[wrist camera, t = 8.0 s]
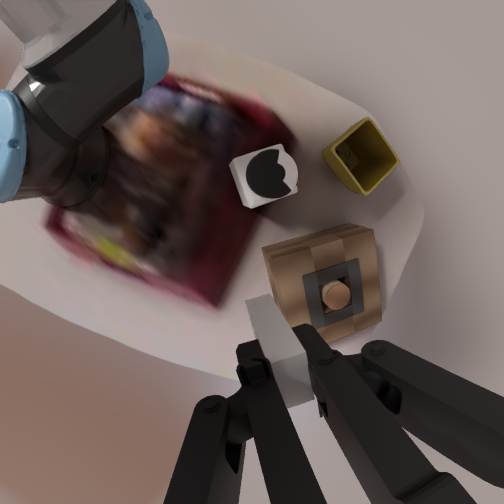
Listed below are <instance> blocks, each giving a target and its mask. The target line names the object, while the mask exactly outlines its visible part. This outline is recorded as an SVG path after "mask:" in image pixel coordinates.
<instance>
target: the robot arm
mask: <svg viewBox="0 0 504 504" xmlns="http://www.w3.org/2000/svg"><path fill="white" fill-rule="evenodd" d="M0 19H1V20H2V21H3V22H4V23H5V24H6V26H7V27H8V28H9V29H10V30H11V31H12V32H13V33H14V34H15V35H16V36H17V37H18V38H19V39H20V41H21V42H22V43H23V46H24V49H23V57H22V63H21V64H22V66H23V67H24V69H26V70H27V71H28V72H29V73H28V74H27V75H26V76H25V77H24V78H23V80H22V81H21V82H20V83H19V84H18V85H17V86H16V87H15V88H14V89H13V90H12V91H9V90H0V203H5V202H7V201H13V200H21V199H29V198H38V197H41V198H42V199H44V200H45V201H46V202H48V203H50V204H52V205H56V206H72V205H76V204H79V203H82V202H84V201H85V200H87V199H88V198H90V197H91V196H92V195H93V194H94V193H95V192H96V191H97V190H98V188H99V187H100V185H101V184H102V182H103V180H104V178H105V176H106V174H107V171H108V167H109V162H110V146H109V141H108V138H107V136H106V133H105V132H104V130H103V129H102V127H101V126H102V125H103V124H105V123H106V122H107V121H108V120H109V119H110V118H112V117H113V116H114V115H115V114H117V113H118V112H119V111H120V110H122V109H123V108H124V107H125V106H127V105H128V104H129V103H131V102H132V101H133V100H135V99H136V98H137V99H139V98H141V97H142V96H143V95H144V94H145V92H146V91H147V90H149V89H150V88H151V87H153V86H154V85H155V84H157V83H158V82H159V81H161V80H162V79H163V78H164V77H165V75H166V73H167V71H168V69H169V53H168V48H167V45H166V41H165V38H164V36H163V33H162V30H161V28H160V26H159V24H158V21H157V20H156V19H155V18H154V17H153V14H152V12H151V9H150V8H149V7H148V5H147V3H145V1H144V0H0ZM245 303H246V306H247V310H248V313H249V317H250V320H251V324H252V327H253V331H254V334H255V338H256V340H253V341H249V342H246V343H242V344H239V345H238V347H237V349H236V354H237V359H238V364H239V365H238V366H237V369H236V372H237V374H238V377H239V380H240V383H241V385H242V386H241V388H240V389H239V391H237V392H236V393H235V394H234V395H232V396H230V397H229V398H225V397H223V396H220V395H211V396H207V397H205V398H203V399H201V400H200V401H199V402H198V403H197V404H196V406H195V408H194V412H193V415H192V418H191V420H190V423H189V426H188V429H187V433H186V436H185V439H184V442H183V445H182V448H181V451H180V454H179V457H178V460H177V463H176V466H175V469H174V472H173V475H172V478H171V481H170V484H169V488H168V491H167V494H166V497H165V500H164V503H163V504H238V503H239V495H240V487H241V480H242V472H243V464H244V456H245V447H246V441H247V440H249V439H251V438H252V437H254V441H255V444H256V449H257V453H258V457H259V461H260V465H261V469H262V473H263V476H264V480H265V484H266V488H267V491H268V495H269V498H270V503H271V504H327V502H326V500H325V498H324V495H323V493H322V491H321V489H320V486H319V484H318V482H317V479H316V477H315V475H314V472H313V470H312V468H311V465H310V463H309V461H308V458H307V456H306V454H305V451H304V449H303V446H302V444H301V441H300V439H299V437H298V434H297V432H296V429H295V427H294V425H293V422H292V420H291V417H290V415H289V412H288V410H287V408H290V407H293V406H296V405H299V404H302V403H305V402H308V401H310V400H314V399H315V398H314V394H315V396H316V397H317V401H318V407H319V414H320V417H323V416H324V418H325V420H326V422H327V423H328V425H329V427H330V429H331V431H332V432H333V434H334V436H335V438H336V440H337V442H338V443H339V446H340V447H341V449H342V451H343V453H344V455H345V457H346V458H347V460H348V462H349V464H350V466H351V468H352V469H353V471H354V473H355V475H356V477H357V479H358V480H359V482H360V484H361V486H362V488H363V489H364V491H365V493H366V495H367V497H368V498H369V500H370V502H371V504H477V503H476V502H475V501H474V499H473V498H472V497H471V496H470V495H469V494H468V492H467V491H466V490H465V489H464V488H463V486H462V485H461V484H460V483H459V481H458V480H457V479H456V478H455V477H454V476H453V475H452V474H450V473H448V472H439V471H437V470H436V469H435V468H434V467H433V465H432V464H431V463H430V462H429V461H428V459H427V458H426V457H425V456H424V454H423V453H422V452H421V451H420V450H419V448H418V447H417V446H416V445H415V443H414V442H413V441H412V440H411V438H410V437H409V436H408V435H407V433H406V432H405V431H404V430H403V428H404V429H406V430H407V431H408V432H410V433H411V434H413V435H414V436H416V437H417V438H419V439H420V440H421V441H423V442H425V443H426V444H427V445H429V446H430V447H432V448H433V449H435V450H436V451H438V452H439V453H441V454H442V455H444V456H446V457H447V458H449V459H450V460H452V461H453V462H455V463H457V464H458V465H460V466H461V467H463V468H464V469H466V470H468V471H469V472H471V473H473V474H474V475H476V476H477V477H479V478H481V479H482V480H484V481H486V482H488V483H490V484H492V485H494V486H497V487H500V488H504V397H502V396H500V395H498V394H496V393H494V392H491V391H489V390H487V389H485V388H483V387H480V386H478V385H476V384H474V383H472V382H470V381H468V380H466V379H464V378H462V377H459V376H457V375H455V374H453V373H451V372H449V371H447V370H445V369H443V368H441V367H439V366H437V365H435V364H432V363H430V362H428V361H426V360H424V359H422V358H420V357H418V356H416V355H414V354H412V353H410V352H408V351H406V350H404V349H401V348H400V347H398V346H396V345H394V344H392V343H390V342H388V341H384V340H375V341H371V342H369V343H366V344H365V345H364V346H363V347H362V350H361V353H359V354H354V355H342V354H341V353H340V352H339V351H337V350H334V349H331V348H330V347H329V345H328V344H327V343H326V342H325V340H324V339H323V338H322V337H321V336H320V334H319V333H318V332H317V330H316V329H315V328H314V326H312V325H310V324H307V323H304V324H301V325H298V326H295V327H292V328H291V327H290V326H289V324H288V322H287V321H286V319H285V318H284V316H283V314H282V313H281V311H280V310H279V308H278V306H277V305H276V303H275V302H274V300H273V298H272V297H271V295H270V294H267V295H263V296H260V297H257V298H253V299H250V300H246V301H245ZM322 414H323V415H322ZM402 427H403V428H402Z"/></svg>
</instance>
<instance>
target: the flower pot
mask: <svg viewBox="0 0 504 504" xmlns="http://www.w3.org/2000/svg"><path fill="white" fill-rule="evenodd" d="M336 150H337V151H338V153H336V152H335V151H336ZM347 152H349V153H350V155H347ZM322 157H323V158H324V160H325V161H326V162H327V163H328V165H329V166H330V167H331V168H332V170H333V171H334V172H335V174H336V175H337V176H338V177H339V179H340V180H341V182H342V183H343V184H344V185H345V186H346V187H347V188H348V189H349V190H351V191H353V192H356V193H359V194H361V195H364V196H367V195H369V194H370V193H371V192H372V191H373V190H374V189H375V188H376V187H377V186H378V185H379V184H380V183H381V182H382V181H383V180H384V179H385V178H386V177H387V176H388V175H389V174H390V173H391V171H393V170H394V169H395V168H396V166H397V165H398V164H399V162H400V161H399V159H398V157H397V155H396V154H395V152H394V151H393V150H392V148H391V147H390V145H389V144H388V142H387V141H386V139H385V138H384V136H383V135H382V134H381V132H380V131H379V129H378V128H377V126H376V125H375V124H374V122H373V121H372V120H371V119H370V118H369V117H366V118H364V119H362V120H361V121H359V122H358V123H356V124H354V125H353V126H351V127H350V128H349V129H348V130H347V131H346V132H345V133H344V134H342V135H341V136H340V137H339V138H338V139H337V140H336V141H334V142H333V143H332V144H331V145H330V146H328V147H327V148H326V149H325V150H324V151H323V152H322ZM347 165H349V168H347Z"/></svg>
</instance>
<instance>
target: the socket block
mask: <svg viewBox="0 0 504 504" xmlns="http://www.w3.org/2000/svg"><path fill="white" fill-rule="evenodd" d="M262 251H263V255H264V259H265V263H266V267H267V271H268V275H269V279H270V284H271V288H272V292H273V296H274V300H275V303H276V305H277V306H278V308H279V310H280V311H281V313H282V314H283V316H284V318H285V319H286V321H287V322H288V324H289V326H290V327H291V328H292V327H295V326H298V325H301V324H304V323H307V324H310V325H312V326H314V328H315V329H316V330H317V332H318V333H319V334H320V336H321V337H322V338H323V339H324V340H325V342H326V343H329V342H332V341H334V340H337V339H340V338H342V337H345V336H347V335H350V334H352V333H355V332H357V331H360V330H362V329H364V328H367V327H369V326H372V325H374V324H376V323H378V322H381V321H382V315H381V298H380V285H379V274H378V264H377V255H376V246H375V239H374V231H373V229H369V228H365V227H362V226H358V225H354V224H350V223H348V224H345V225H341V226H337V227H334V228H330V229H327V230H323V231H319V232H316V233H312V234H309V235H305V236H302V237H298V238H294V239H291V240H287V241H284V242H280V243H277V244H273V245H269V246H266V247H262ZM336 279H337V280H339V281H340V282H341V283H343V284H344V285H346V286H347V287H348V288H349V290H350V300H349V302H348V303H347V305H346V306H345V307H343V308H341V309H339V310H333V309H331V308H329V307H328V306H327V305H326V304H325V303H324V302H323V301H322V300H321V297H320V291H319V286H318V285H321V284H324V283H327V282H330V281H333V280H336Z"/></svg>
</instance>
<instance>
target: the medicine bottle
mask: <svg viewBox="0 0 504 504" xmlns="http://www.w3.org/2000/svg"><path fill="white" fill-rule="evenodd" d="M229 167H230V170H231V172H232V175H233V178H234V181H235V184H236V186H237V189H238V192H239V195H240V198H241V200H242V203H243V205H244V206H246V207H249V208H255V207H258V206H260V205H263V204H266V203H269V202H272V201H274V200H277V199H280V198H283V197H286V196H289V195H292V194H295V193H297V192H298V189H297V186H296V183H297V179H298V170H297V166H296V164H295V162H294V160H293V159H292V157H291V156H290V155H288V154H287V153H286V152H285V151H284V148H283V145H282V144H278V145H274V146H271V147H268V148H264V149H261V150H258V151H255V152H252V153H249V154H246V155H242V156H239V157H236V158H234V159H233V160H232V161H231V163H230V164H229Z"/></svg>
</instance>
